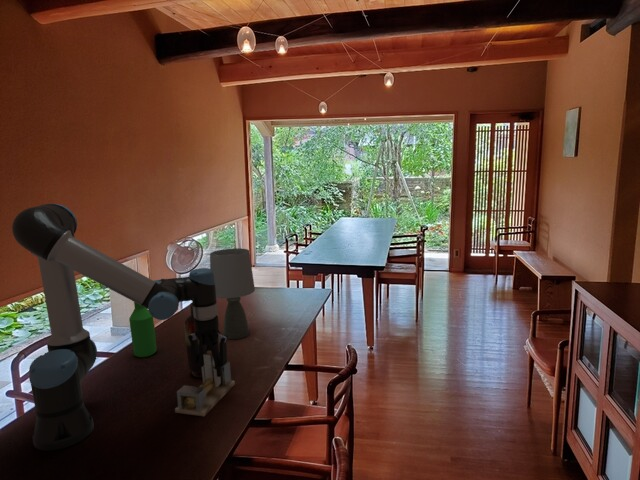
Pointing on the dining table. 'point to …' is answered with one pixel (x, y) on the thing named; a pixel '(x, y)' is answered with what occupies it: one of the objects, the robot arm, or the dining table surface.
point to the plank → (209, 400)
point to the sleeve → (193, 392)
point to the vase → (189, 330)
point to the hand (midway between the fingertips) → (212, 384)
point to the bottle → (142, 332)
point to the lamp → (233, 287)
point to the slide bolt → (209, 382)
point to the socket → (226, 374)
